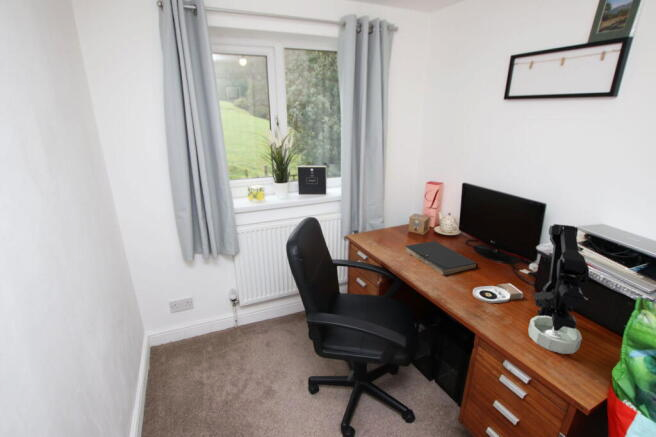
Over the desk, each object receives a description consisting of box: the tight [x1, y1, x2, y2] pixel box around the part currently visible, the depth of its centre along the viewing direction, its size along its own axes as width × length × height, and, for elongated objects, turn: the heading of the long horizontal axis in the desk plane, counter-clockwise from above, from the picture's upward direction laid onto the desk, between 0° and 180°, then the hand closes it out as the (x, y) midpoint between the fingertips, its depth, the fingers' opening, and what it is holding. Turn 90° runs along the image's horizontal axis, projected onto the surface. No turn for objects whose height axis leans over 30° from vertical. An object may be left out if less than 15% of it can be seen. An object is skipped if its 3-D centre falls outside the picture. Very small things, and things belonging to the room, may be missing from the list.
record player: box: [472, 282, 524, 304], centre depth 142 cm, size 12×3×20 cm
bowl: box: [528, 315, 583, 355], centre depth 113 cm, size 15×15×4 cm
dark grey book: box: [404, 240, 479, 276], centre depth 178 cm, size 33×4×24 cm
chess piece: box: [545, 327, 562, 340], centre depth 112 cm, size 5×5×10 cm
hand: (555, 328), depth 113 cm, fingers closed on chess piece
